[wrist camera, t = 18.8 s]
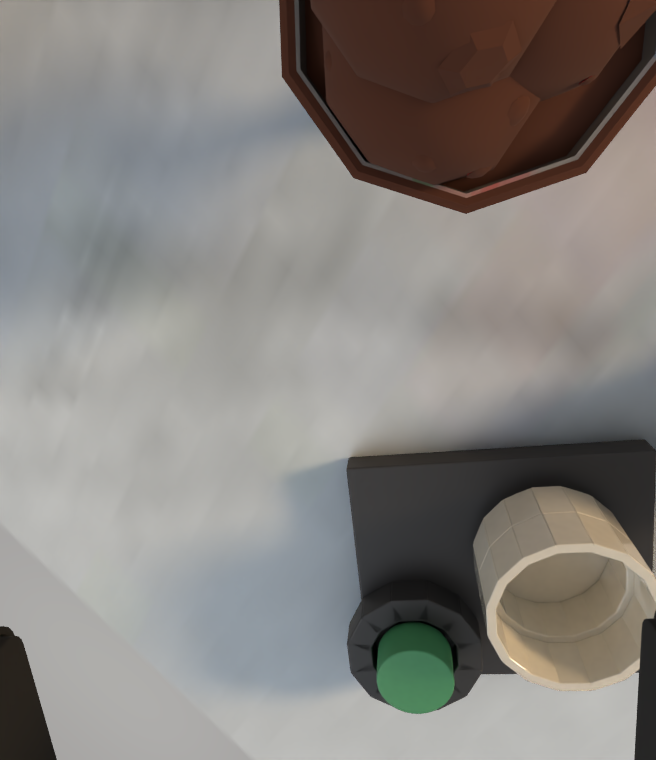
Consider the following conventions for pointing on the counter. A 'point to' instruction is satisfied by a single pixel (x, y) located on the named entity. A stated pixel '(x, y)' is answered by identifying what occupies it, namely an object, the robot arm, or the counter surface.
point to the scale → (466, 536)
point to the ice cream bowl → (468, 88)
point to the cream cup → (562, 589)
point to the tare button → (415, 668)
